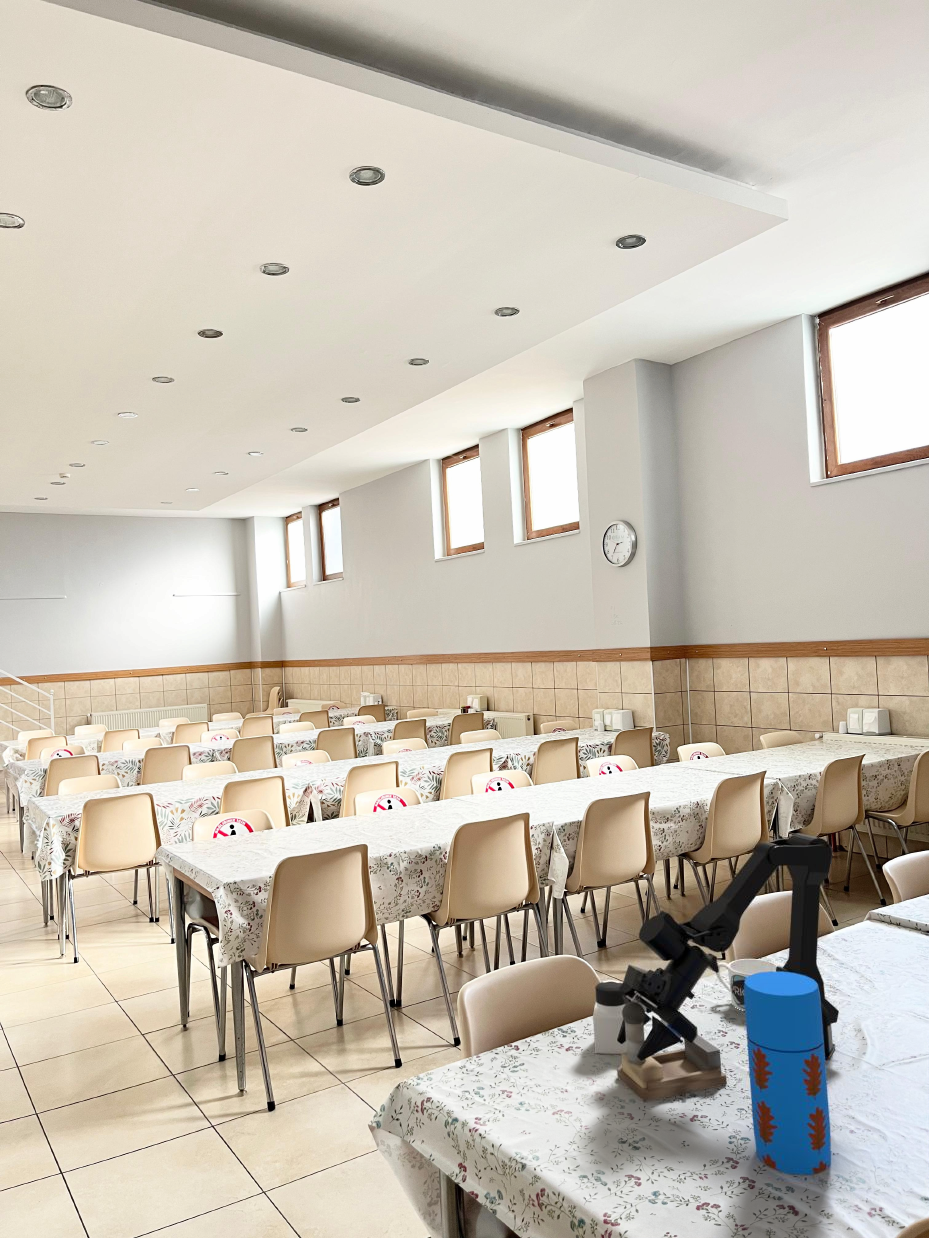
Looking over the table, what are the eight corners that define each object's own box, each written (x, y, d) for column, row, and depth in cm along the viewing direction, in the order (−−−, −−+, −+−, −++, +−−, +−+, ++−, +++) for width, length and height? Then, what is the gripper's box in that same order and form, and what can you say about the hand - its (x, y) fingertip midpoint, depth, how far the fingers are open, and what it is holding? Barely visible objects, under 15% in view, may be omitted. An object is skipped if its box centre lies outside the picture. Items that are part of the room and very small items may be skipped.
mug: (787, 1000, 193) (784, 962, 194) (775, 1017, 184) (772, 977, 185) (724, 991, 201) (722, 954, 201) (710, 1007, 192) (707, 969, 192)
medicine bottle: (633, 1055, 171) (628, 990, 171) (595, 1053, 172) (591, 989, 173) (633, 1039, 178) (629, 977, 178) (597, 1038, 179) (593, 976, 180)
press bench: (695, 1061, 166) (693, 1030, 167) (726, 1084, 157) (724, 1051, 157) (617, 1077, 162) (615, 1045, 162) (644, 1101, 152) (642, 1068, 153)
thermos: (795, 1183, 126) (782, 1001, 128) (739, 1149, 136) (727, 980, 137) (849, 1160, 131) (835, 985, 133) (791, 1129, 141) (779, 966, 142)
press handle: (642, 1066, 162) (637, 992, 163) (663, 1084, 155) (658, 1006, 156) (617, 1071, 161) (612, 996, 161) (637, 1089, 153) (632, 1011, 154)
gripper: (625, 934, 169) (574, 1004, 165) (676, 963, 151) (621, 1042, 147) (665, 971, 171) (616, 1040, 167) (721, 1004, 153) (667, 1083, 149)
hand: (628, 1050), depth 157 cm, fingers open, 7 cm apart
